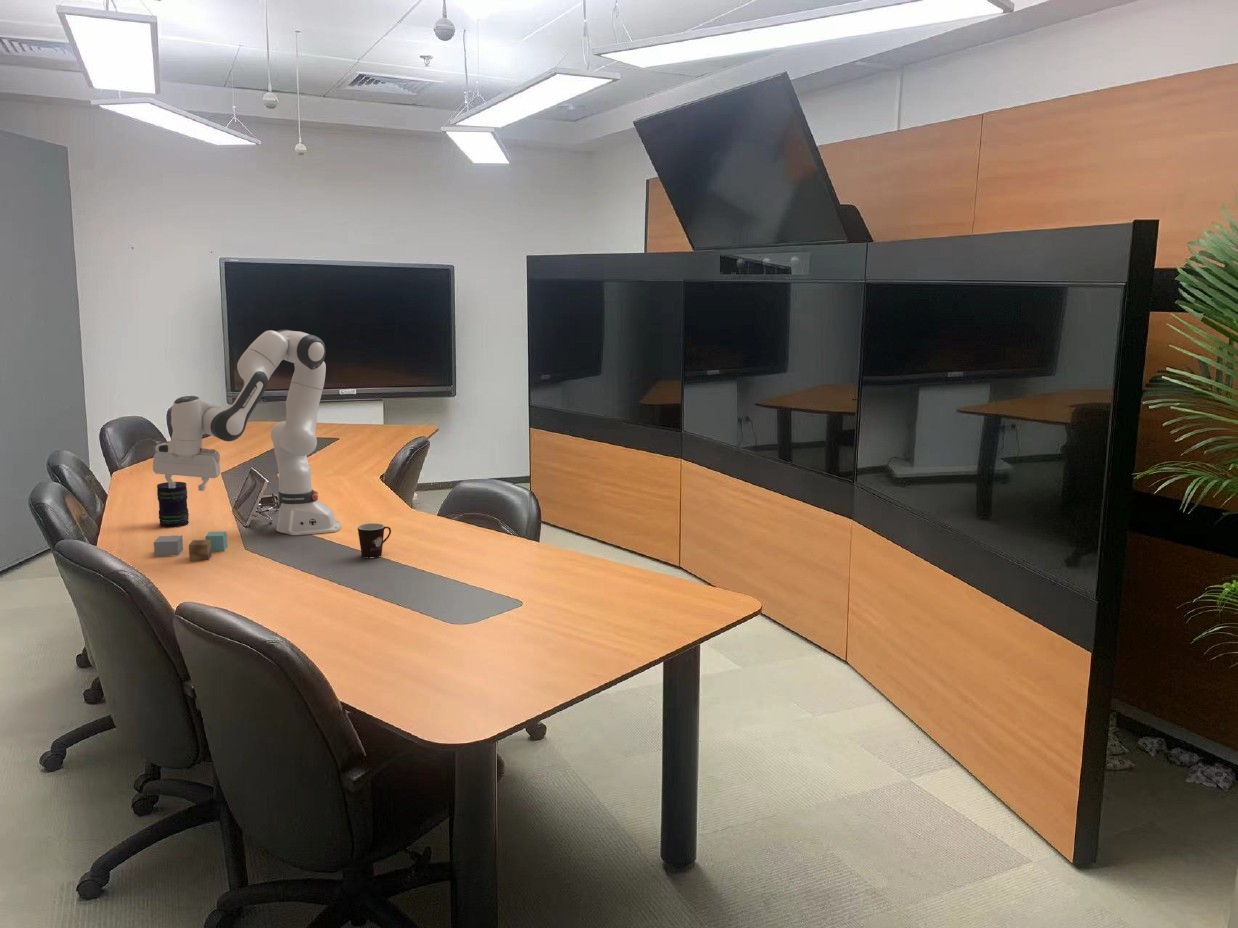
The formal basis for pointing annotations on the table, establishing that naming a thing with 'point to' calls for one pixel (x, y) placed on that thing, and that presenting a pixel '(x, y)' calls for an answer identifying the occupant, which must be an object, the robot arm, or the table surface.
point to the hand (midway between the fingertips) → (186, 489)
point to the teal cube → (217, 540)
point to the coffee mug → (372, 539)
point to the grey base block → (168, 545)
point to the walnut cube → (200, 550)
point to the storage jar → (172, 505)
